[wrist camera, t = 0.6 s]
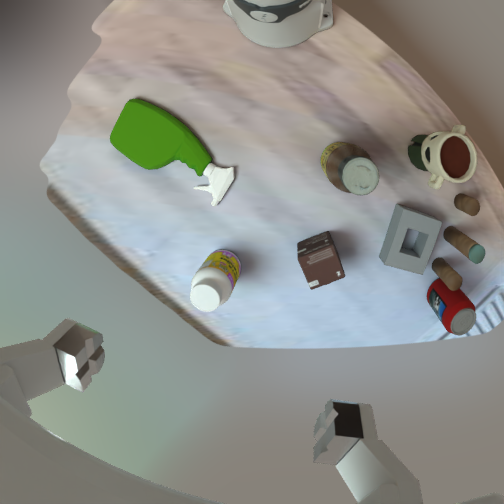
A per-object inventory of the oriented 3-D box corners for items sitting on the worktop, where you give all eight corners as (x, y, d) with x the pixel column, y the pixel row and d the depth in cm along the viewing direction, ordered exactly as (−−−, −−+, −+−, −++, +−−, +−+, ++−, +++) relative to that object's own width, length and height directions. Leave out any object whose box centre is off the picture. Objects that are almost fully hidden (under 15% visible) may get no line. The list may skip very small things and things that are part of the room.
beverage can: (419, 291, 52) (441, 325, 41) (443, 268, 50) (470, 298, 39) (435, 310, 53) (457, 344, 42) (458, 289, 51) (484, 319, 40)
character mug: (418, 115, 41) (453, 110, 29) (449, 137, 41) (488, 139, 29) (393, 168, 45) (423, 178, 33) (425, 189, 46) (459, 205, 33)
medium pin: (435, 255, 49) (452, 273, 42) (446, 259, 49) (464, 277, 42) (429, 270, 50) (445, 289, 43) (441, 273, 50) (458, 292, 43)
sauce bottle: (338, 134, 45) (365, 130, 26) (363, 162, 46) (404, 176, 27) (310, 160, 47) (320, 172, 29) (336, 188, 48) (361, 216, 30)
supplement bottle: (248, 271, 56) (235, 307, 44) (220, 287, 58) (201, 324, 46) (228, 241, 54) (209, 271, 42) (199, 258, 56) (175, 290, 44)
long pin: (446, 224, 47) (475, 243, 37) (458, 228, 47) (487, 248, 37) (441, 239, 48) (468, 261, 38) (453, 243, 48) (480, 265, 38)
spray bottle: (137, 94, 47) (247, 160, 49) (111, 144, 51) (214, 211, 53) (130, 92, 44) (245, 161, 47) (103, 145, 48) (210, 215, 51)
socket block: (396, 203, 47) (403, 208, 44) (433, 216, 47) (442, 222, 43) (378, 256, 51) (384, 264, 47) (415, 266, 51) (422, 275, 47)
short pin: (456, 191, 44) (469, 196, 40) (468, 196, 44) (481, 202, 40) (452, 206, 46) (464, 213, 41) (463, 211, 45) (476, 218, 41)
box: (328, 229, 51) (333, 243, 44) (340, 259, 52) (346, 277, 46) (296, 242, 53) (296, 258, 46) (309, 271, 54) (310, 290, 47)
